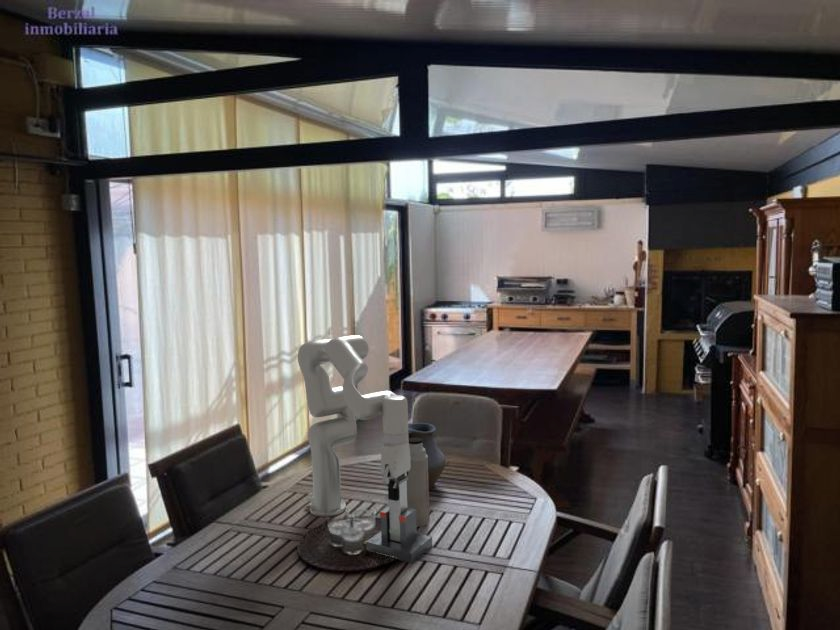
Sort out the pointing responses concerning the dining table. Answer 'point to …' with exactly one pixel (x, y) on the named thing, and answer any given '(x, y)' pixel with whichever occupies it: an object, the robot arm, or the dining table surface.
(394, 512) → the column
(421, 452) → the thermos bottle
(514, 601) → the dining table surface
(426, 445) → the pitcher
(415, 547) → the base
